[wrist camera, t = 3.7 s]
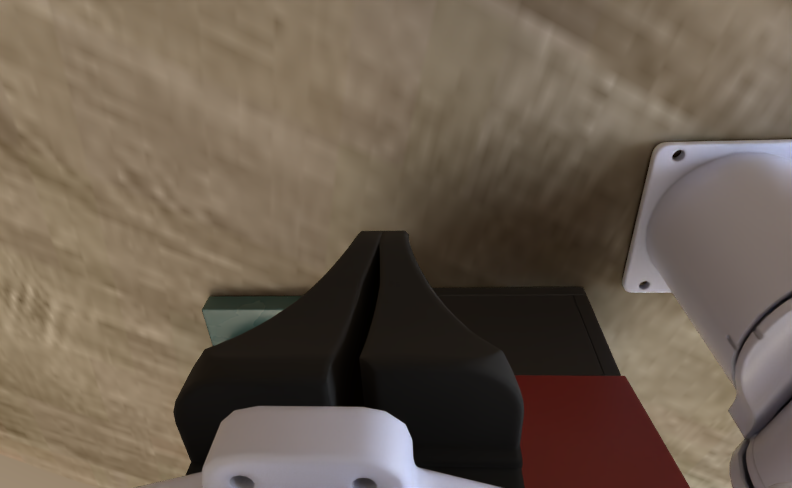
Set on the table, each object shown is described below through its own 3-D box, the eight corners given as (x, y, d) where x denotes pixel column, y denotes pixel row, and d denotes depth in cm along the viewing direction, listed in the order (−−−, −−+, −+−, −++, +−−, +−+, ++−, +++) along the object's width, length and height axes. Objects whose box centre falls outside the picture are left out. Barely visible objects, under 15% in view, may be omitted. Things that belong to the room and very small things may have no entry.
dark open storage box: (558, 419, 33) (584, 515, 27) (362, 417, 33) (351, 509, 28) (583, 286, 27) (621, 374, 22) (348, 287, 28) (330, 373, 23)
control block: (319, 295, 28) (308, 332, 26) (337, 417, 34) (330, 458, 31) (206, 295, 29) (185, 332, 26) (242, 417, 34) (227, 457, 31)
